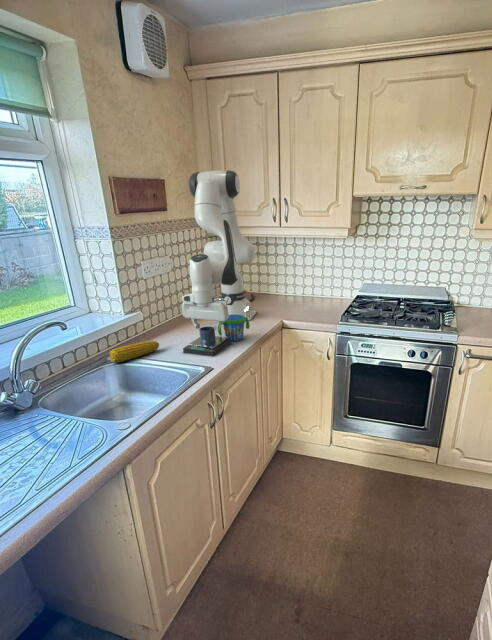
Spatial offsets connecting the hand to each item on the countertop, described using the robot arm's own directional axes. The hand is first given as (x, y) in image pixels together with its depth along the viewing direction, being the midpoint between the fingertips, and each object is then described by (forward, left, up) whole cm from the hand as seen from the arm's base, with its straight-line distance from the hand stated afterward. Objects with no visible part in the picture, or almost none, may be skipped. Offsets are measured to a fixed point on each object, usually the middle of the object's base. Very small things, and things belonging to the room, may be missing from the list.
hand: (207, 329), depth 172 cm
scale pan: (0, 0, -6) cm, 6 cm away
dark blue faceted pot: (0, 0, -5) cm, 5 cm away
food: (+19, -23, -8) cm, 31 cm away
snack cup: (-13, +6, -8) cm, 16 cm away
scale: (+1, 0, -8) cm, 8 cm away
